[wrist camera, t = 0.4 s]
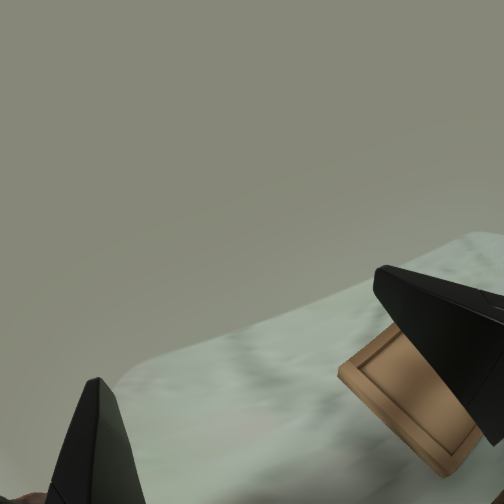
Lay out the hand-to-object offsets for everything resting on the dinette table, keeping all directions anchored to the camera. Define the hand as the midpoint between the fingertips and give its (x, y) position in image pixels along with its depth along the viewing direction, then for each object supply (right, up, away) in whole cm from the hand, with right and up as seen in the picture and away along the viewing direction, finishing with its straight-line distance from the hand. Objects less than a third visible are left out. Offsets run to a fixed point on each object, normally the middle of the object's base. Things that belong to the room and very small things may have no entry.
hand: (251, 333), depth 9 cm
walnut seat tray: (+16, -8, +13) cm, 22 cm away
